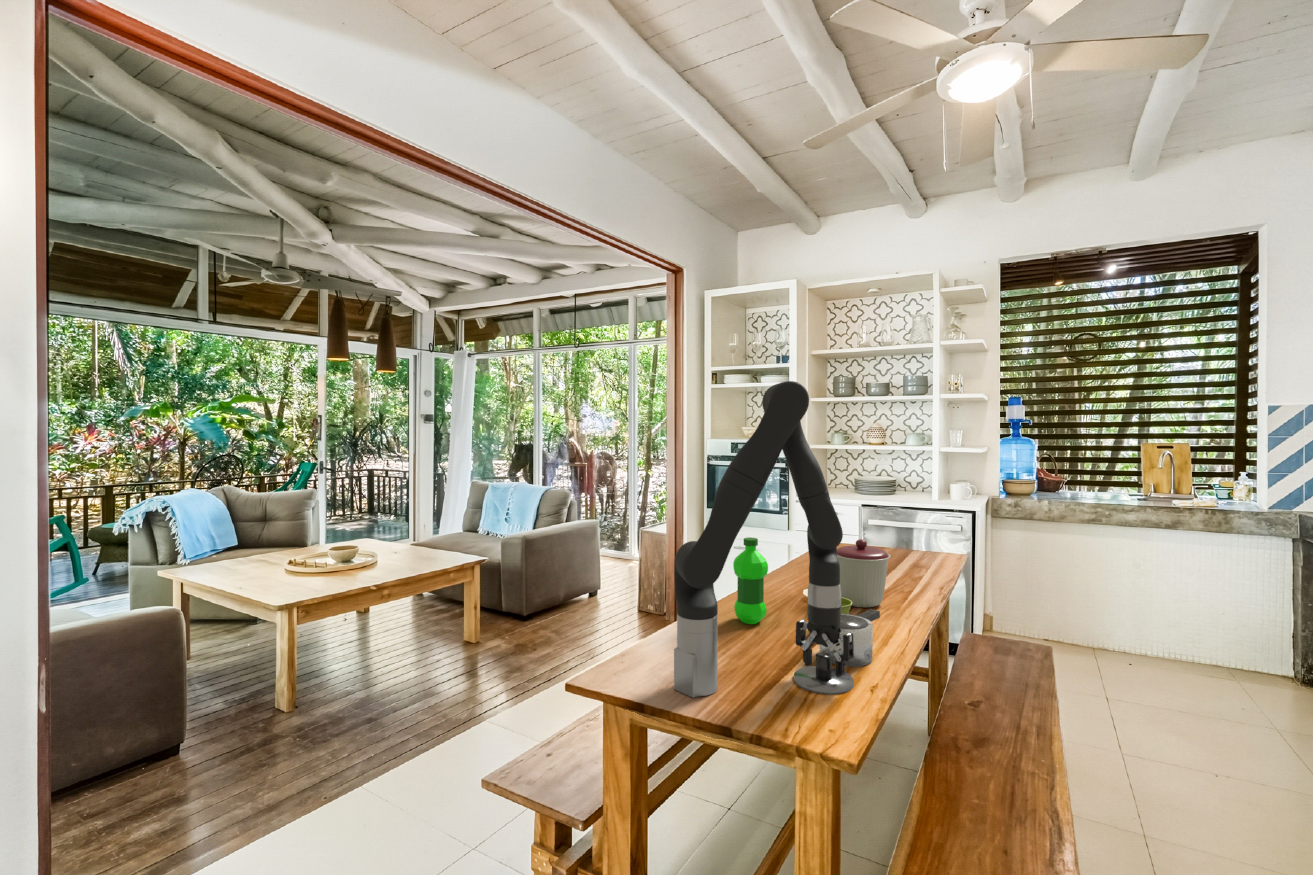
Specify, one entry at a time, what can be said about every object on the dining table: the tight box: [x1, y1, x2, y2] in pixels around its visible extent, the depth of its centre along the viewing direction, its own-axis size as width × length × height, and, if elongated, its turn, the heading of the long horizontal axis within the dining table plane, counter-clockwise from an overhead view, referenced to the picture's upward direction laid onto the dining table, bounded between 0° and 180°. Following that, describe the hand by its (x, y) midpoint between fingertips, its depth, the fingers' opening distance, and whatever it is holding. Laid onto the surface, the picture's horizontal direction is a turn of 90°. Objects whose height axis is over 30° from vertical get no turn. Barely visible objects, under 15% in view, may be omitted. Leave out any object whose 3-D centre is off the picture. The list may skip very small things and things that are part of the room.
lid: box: [793, 651, 855, 695], centre depth 147 cm, size 14×14×6 cm
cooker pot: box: [819, 608, 881, 668], centre depth 164 cm, size 25×13×9 cm, turn 133°
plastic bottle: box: [732, 537, 769, 625], centre depth 189 cm, size 10×10×25 cm
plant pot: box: [841, 597, 852, 615], centre depth 181 cm, size 9×9×9 cm
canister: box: [837, 539, 892, 608], centre depth 206 cm, size 18×18×21 cm
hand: (823, 670), depth 147 cm, fingers open, 8 cm apart
